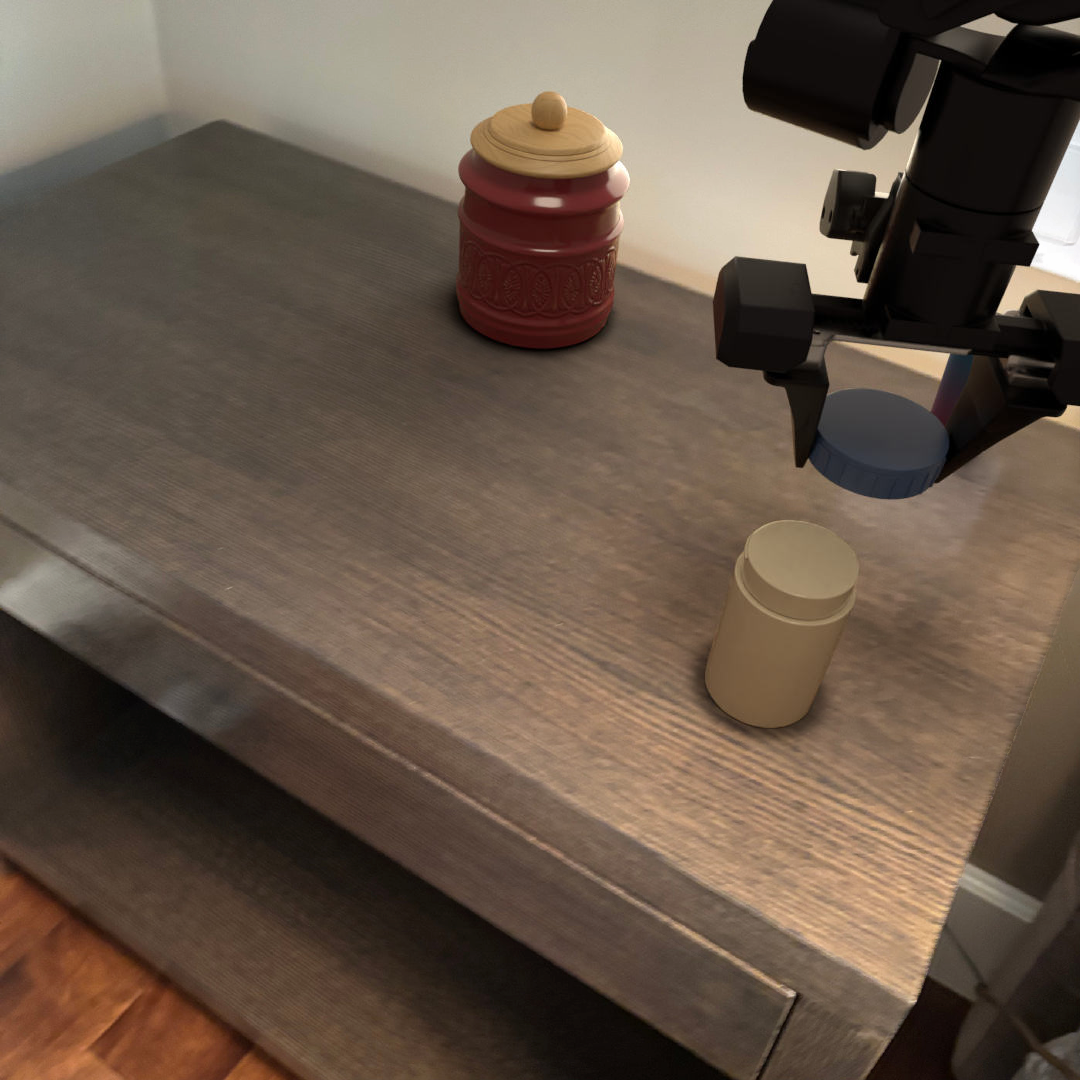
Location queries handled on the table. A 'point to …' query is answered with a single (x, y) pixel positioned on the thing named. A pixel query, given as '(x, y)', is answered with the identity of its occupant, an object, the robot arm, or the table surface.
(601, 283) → the kitchen canister
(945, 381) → the cup
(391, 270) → the table surface
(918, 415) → the lid
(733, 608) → the jar
